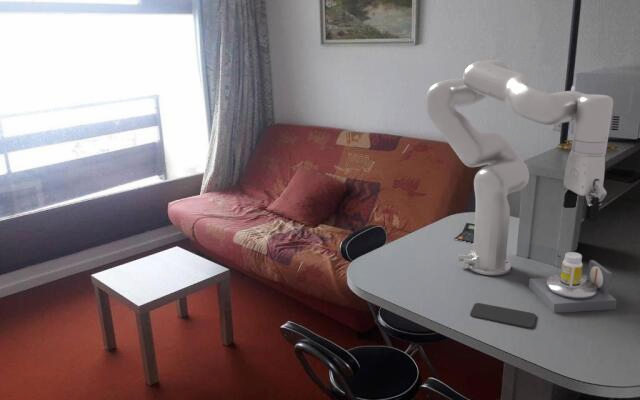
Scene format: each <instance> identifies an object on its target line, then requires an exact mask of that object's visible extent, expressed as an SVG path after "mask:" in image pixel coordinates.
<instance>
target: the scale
mask: <svg viewBox="0 0 640 400" xmlns="http://www.w3.org/2000/svg"><path fill="white" fill-rule="evenodd" d="M588 262H589V264H588V271H587V275H581V278H584V279H587V280H589V281H591V282H592V283H594V284H595V285H596V287H597V294H596V295H595V296H594V297H592V298H588V299H572V298H567V297H563V296H560V295H557V294H555V293H553V292H552V291H550V290H549V289H548V288H547V286H546V284H547V279H548V278H549V277H544V278H543V277H541V278H540V277H539V278H529V279H528V288H529V289H530V291H532V293H534V294H535V295H536V297H537V298H539V299H540V300H541V302H542V303H543V304H545V306H546V307H547V308H548V309H549V310H550V311H551V312H552V313H553V314H556V313H569V312H570V313H572V312H587V311H602V310H603V311H604V310H605V311H606V310H615V309H616V306H617V299H616V298H615V297H613V296H612V295H611V294H610V288H611V281H612V274H613V273H612V272H611V271H609V270H608V269H606V268H605V267H604V266H603V265H601V264H600V263H598V262H597V261H596V260H593V259H591V260H589V261H588Z"/></svg>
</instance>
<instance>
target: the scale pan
mask: <svg viewBox="0 0 640 400" xmlns="http://www.w3.org/2000/svg"><path fill="white" fill-rule="evenodd" d="M547 278H548V279H547V284H546V286H547V288H548V289H549V290H550V291H552V292H553V293H555V294H557V295H560V296H563V297H567V298H572V299H588V298H592V297H594V296H595V295H596V294H597V287H596V285H595V284H594V283H592V282H591V281H589V280H587V279H584V278H581V282H580V286H579V287H577V288H569V287H565V286H563V285H562V284H561V283H560V280H561V274H555V275H552V276H550V277H547Z"/></svg>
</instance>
